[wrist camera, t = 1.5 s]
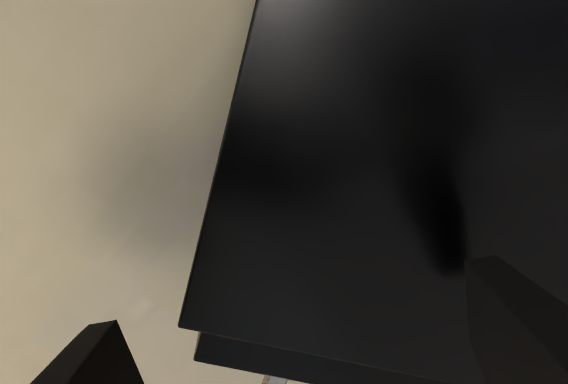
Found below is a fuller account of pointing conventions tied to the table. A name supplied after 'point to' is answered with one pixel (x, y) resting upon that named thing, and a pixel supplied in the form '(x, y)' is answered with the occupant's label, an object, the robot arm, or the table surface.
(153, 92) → the table surface
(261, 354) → the drawer
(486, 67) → the cabinet
